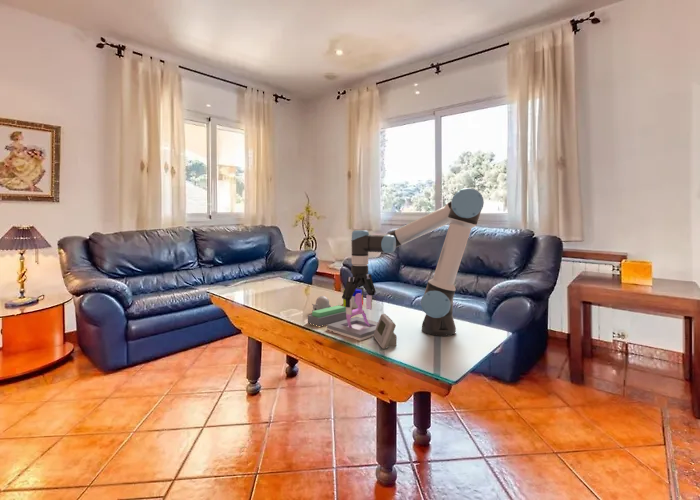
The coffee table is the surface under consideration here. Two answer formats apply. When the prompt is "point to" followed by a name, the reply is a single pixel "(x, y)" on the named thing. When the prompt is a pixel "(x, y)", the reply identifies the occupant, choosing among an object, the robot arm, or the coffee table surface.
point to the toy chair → (357, 310)
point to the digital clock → (385, 332)
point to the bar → (328, 311)
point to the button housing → (327, 319)
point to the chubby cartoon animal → (321, 303)
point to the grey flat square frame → (354, 328)
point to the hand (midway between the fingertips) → (359, 311)
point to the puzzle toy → (354, 305)
